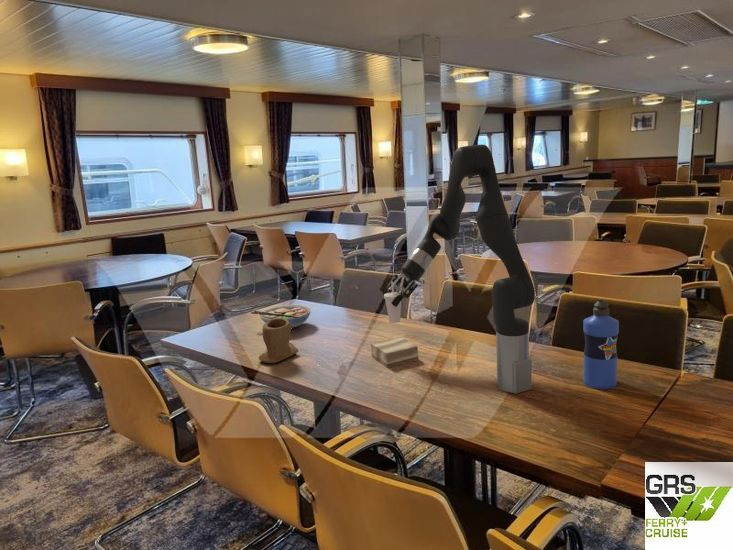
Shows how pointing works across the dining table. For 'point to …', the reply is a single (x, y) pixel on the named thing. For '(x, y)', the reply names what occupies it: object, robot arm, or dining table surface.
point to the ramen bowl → (286, 313)
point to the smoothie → (392, 310)
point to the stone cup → (277, 341)
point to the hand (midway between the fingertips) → (389, 303)
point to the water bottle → (600, 348)
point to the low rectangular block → (394, 352)
